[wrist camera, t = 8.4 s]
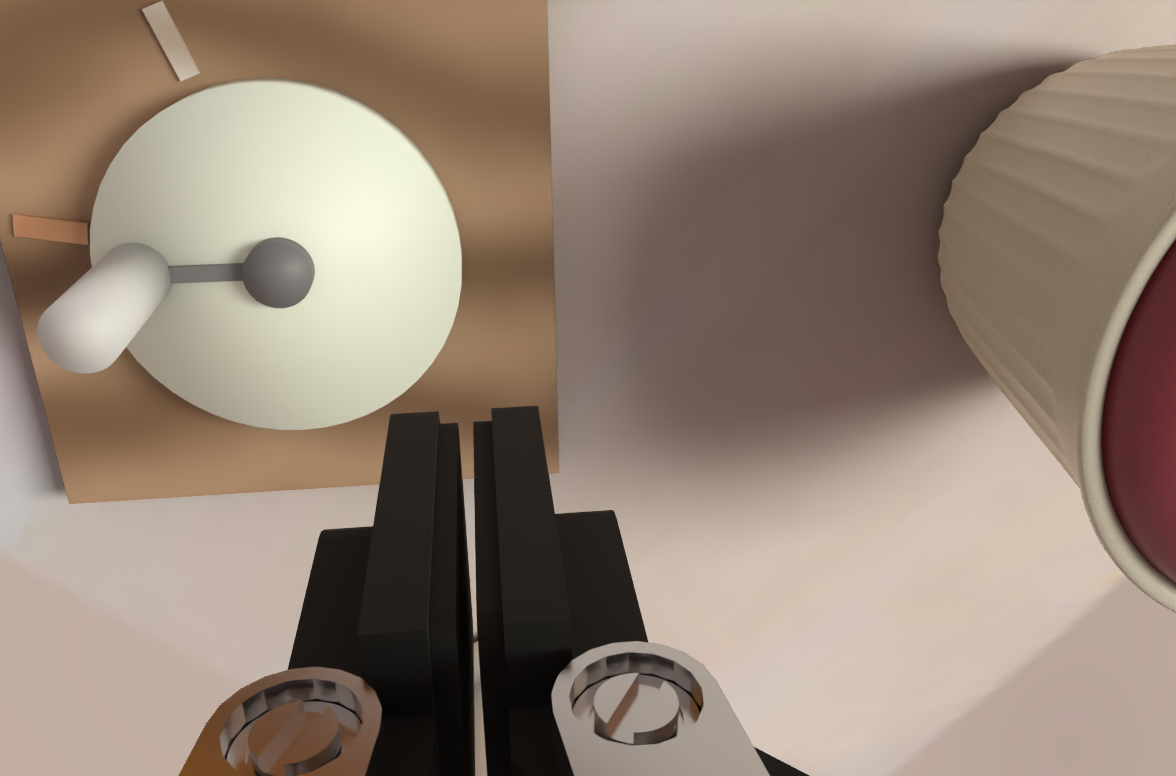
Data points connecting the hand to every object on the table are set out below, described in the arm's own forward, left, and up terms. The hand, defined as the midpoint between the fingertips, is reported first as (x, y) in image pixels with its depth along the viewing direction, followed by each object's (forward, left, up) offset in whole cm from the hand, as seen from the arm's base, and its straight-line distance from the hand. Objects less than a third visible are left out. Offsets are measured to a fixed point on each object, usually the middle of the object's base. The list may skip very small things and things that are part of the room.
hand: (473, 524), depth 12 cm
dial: (-5, +7, -28) cm, 29 cm away
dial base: (-5, +7, -29) cm, 30 cm away
